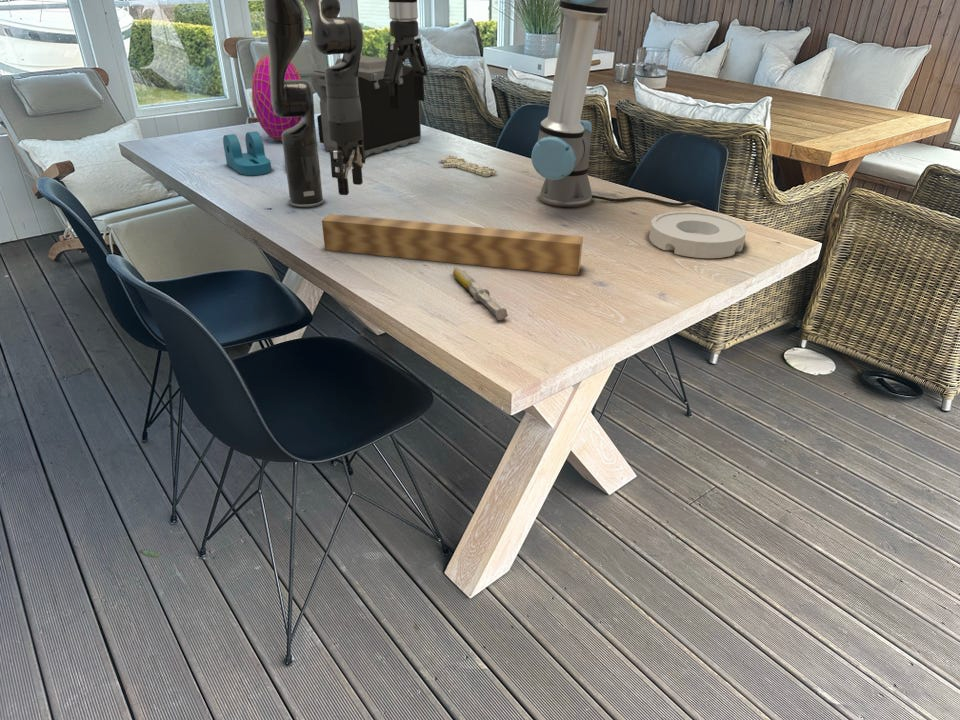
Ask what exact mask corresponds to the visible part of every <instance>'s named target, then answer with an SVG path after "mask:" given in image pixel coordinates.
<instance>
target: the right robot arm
mask: <svg viewBox="0 0 960 720" xmlns="http://www.w3.org/2000/svg"><path fill="white" fill-rule="evenodd" d="M610 1H611V0H560V1H559V7H558V8H559V10H560V11H561V13H562V14H563V20H562V21H563V22H562V28H561V33H560V40H559V46H558V52H557V59H556V62H555V63H556V64H555V69H554V76H553V83H552V88H551V94H550V100H549V106H548V111H547V116H546V117H545V118H544V119H543V120H541V121H540V124H539V125H540V126H539V131H538V137H537V141H536V142H535V144H534V146H533V148H532V151H531V156H530V157H531V163H532V167H533V169H534V170H535V172H536V173H537V174H538V175H539V176H541V177H542V178H544V181H543V184H542V187H541V189H540V192H539V200H540V202H542V203H543V204H546V205H549V206H553V207H558V208H559V207H560V208H580V207H584V206H588V205H589V204H591V203H592V199H595V200H602V201H606V202H615V203H616V202H618V203H619V202H627V201H650V202H653V203H657V204H661V205H662V204H663V205H666V206H671V207H681V206H682V207H683V206H686V205H691V204H697V205H698V206H699V207H704V206H705V205H704V204H703V203H702V202H701V201H699V200H697V199H691V200H688V201H682V202H671V201H666V200H663V199H658V198H653V197H647V196H631V197H630V196H629V197H622V198H611V197H606V196H601V195H595V194H593V193H592V188H591V184H590V179H589V165H590V153H591V142H592V134H593V131H592V130H593V129H592V127H593V124H592V123H591V121H589V120H585V119H582V118H581V117H582V115H583V114H582V113H583V108H584V103H585V98H586V93H587V87H588V82H589V76H590V72H591V66H592V61H593V57H594V50H595V45H596V40H597V35H598V30H599V24H600V21H601V20H602V19H604V18H605V17H606V16H607V15H608V11H609V6H610V3H611V2H610ZM388 12H389V13H388V14H389V15H388V16H389V19H391V20H390V21H389V34H390V36H391V37H393V38H394V41H388V42H387V54H386V65H385V71H384V77H383V80H384V81H385V83H389V95H390V108H394V109H400V93H399V83H397V80H398V77H399V74H400V71H401V68H402V66H403V64H404V62H405V61H406V60H407V59H408V62H409V64H410V67H412V68H413V70H414V72H415V74H416V75H417V76H414V94H415V100H419V101H420V102H424V101H425V81H424V80H425V79H424V77H427V76H428V69H429V68H428V66H427V62H426V57H425V55H424V51H423V47H422V39H421V37H418V36H419V22H418V21H417V20H418V19H419V11H418V0H388Z"/></svg>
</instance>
